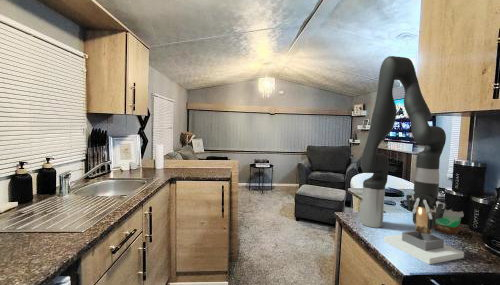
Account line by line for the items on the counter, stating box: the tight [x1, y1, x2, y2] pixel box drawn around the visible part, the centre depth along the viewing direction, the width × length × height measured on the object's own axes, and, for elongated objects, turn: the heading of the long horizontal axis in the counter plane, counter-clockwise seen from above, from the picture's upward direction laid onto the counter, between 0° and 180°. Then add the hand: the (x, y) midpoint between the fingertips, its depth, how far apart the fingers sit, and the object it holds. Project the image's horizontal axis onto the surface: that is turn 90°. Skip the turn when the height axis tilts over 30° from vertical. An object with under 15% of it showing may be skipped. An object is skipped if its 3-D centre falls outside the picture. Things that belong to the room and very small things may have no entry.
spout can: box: [414, 206, 433, 235], centre depth 97 cm, size 5×5×11 cm
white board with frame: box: [383, 230, 465, 265], centre depth 97 cm, size 18×17×5 cm
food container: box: [433, 208, 465, 235], centre depth 116 cm, size 12×6×10 cm, turn 56°
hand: (423, 226), depth 97 cm, fingers closed on spout can, 5 cm apart
